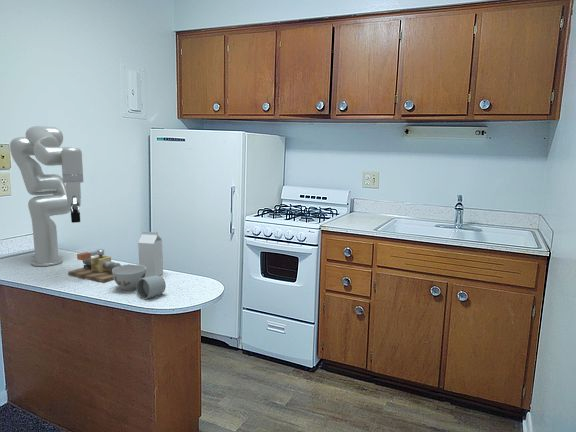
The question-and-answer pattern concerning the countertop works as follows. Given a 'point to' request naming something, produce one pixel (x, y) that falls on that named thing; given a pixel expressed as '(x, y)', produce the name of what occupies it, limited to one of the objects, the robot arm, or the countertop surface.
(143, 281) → the ceramic mug
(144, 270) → the teacup
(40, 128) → the robot arm
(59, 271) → the countertop surface
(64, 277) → the countertop surface
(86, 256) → the valve lever
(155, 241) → the milk carton
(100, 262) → the stand
